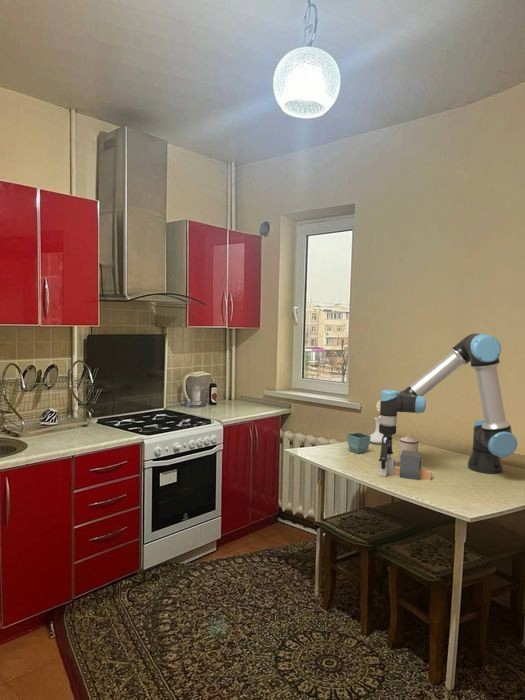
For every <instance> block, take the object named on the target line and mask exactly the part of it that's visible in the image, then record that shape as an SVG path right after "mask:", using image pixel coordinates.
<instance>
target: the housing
mask: <svg viewBox="0 0 525 700" xmlns="http://www.w3.org/2000/svg"><path fill="white" fill-rule="evenodd" d="M422 454H423V453H422V451H418V452H416V451H408V450H403V451H402V453H401V456H400V455H399V457H400V458H399V461H400V462H399V466H400V475H398V476H399V478H401V479H408V480H415V481H419V480H420V478H419V469H422Z"/></svg>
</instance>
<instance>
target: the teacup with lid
mask: <svg viewBox="0 0 525 700" xmlns="http://www.w3.org/2000/svg"><path fill="white" fill-rule="evenodd" d="M399 441H400V443H399V457H400V456H401V453H402V451H403V450H408V451H416V452H419V442H420V440H419V439H417V438H415V437H414V436H412V434H410V433H409V434H407V435H406V436H403V437H400V439H399Z"/></svg>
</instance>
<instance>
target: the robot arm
mask: <svg viewBox="0 0 525 700" xmlns="http://www.w3.org/2000/svg"><path fill="white" fill-rule="evenodd" d="M501 353H502V346H501V343H500V341H499V340H498V338H496V337H494V336H493V335H490V334H487V333H471V334H469V335H467V336H465V337H463V338H462V339H461V340H460V341H459V342H458V343H456V344H455V346H453V347H452V348H451V349H450V352H449V353H448V354H447V355H446V356H444V357H443V358H442V359H440V360H439V361H438V362H437V363H435V364H434V365H433V366H432V367H431V368H430V369H429V370H427V371H426V372H425V373H423V374H422V375H421V376H420V377H419V378H417V379H416V380H415V381H414V382H413V383H411V384H410V385H409V386H407V387H406V388H405V389H403V390H400V391H398V390H395V389H383V390H382V391H380V392H381V393H380V399H379V401H380V411H379V415H380V416H379V415H378V416H377V417H378V418H380V422H379V423H380V425H379V432H380V433H382V434H383V435H384V436H383V437H382V443H381V448H380V456H379V459H378V462H379V467H380V473H379V476H380V477H382V476H383V477H387V474H386V471H387V458H392V455H393V454H394V451H393V435H396V433H397V424H398V423H397V422H398V413H413V414H423V413H425V411H426V409H427V408H426V407H427V401H426V398H425V397H424V396H425V395H426V394H427V393H429V392H430V391H431V390H433V389H434V388H435V387H436V386H438V385H439V384H440V383H441V382H442V381H444V380H445V379H446V378H447V377H448V376H451V374H452V373H454V372H455V371H456V370H458V368H460V367H461V366H462V365H464V366H465V365H468V363H470V367H471V368H472V369H474V370H475V375H476V380H477V386H478V391H479V396H480V404H481V408H482V415H483V420H482V419H478V420H475V421H474V422H473V424H474V425H473V438H472V451H471V454H470V456H469V459H468V460H467V461H468V462H467V468H468V469H469V470H472V471H475V472H479V473H482V474H483V473H484V474H494V475H495V474H501V473H503V469H504V466H503V463H502V458H506V457H510V456H511V455H513V454H514V453H515V451H516V450H517V448H518V440H517V437H515V435H514V434H513V432H512V427H511V423H510V422H509V421H507V420H506V414H505V408H504V402H503V396H502V392H501V390H502V389H501V384H500V380H499V373H498V366H499V364H500V355H501Z"/></svg>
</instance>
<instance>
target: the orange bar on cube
mask: <svg viewBox="0 0 525 700" xmlns="http://www.w3.org/2000/svg"><path fill="white" fill-rule="evenodd" d="M378 473H379V474H380V466H379V470H378ZM432 473H433V470H429V469H423V468H421V469H419V480H420V479H422V480H429V481H431V480H432ZM386 475H391V476H399V475H400V465H396V458H392V457H391V458H387V471H386Z"/></svg>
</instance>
